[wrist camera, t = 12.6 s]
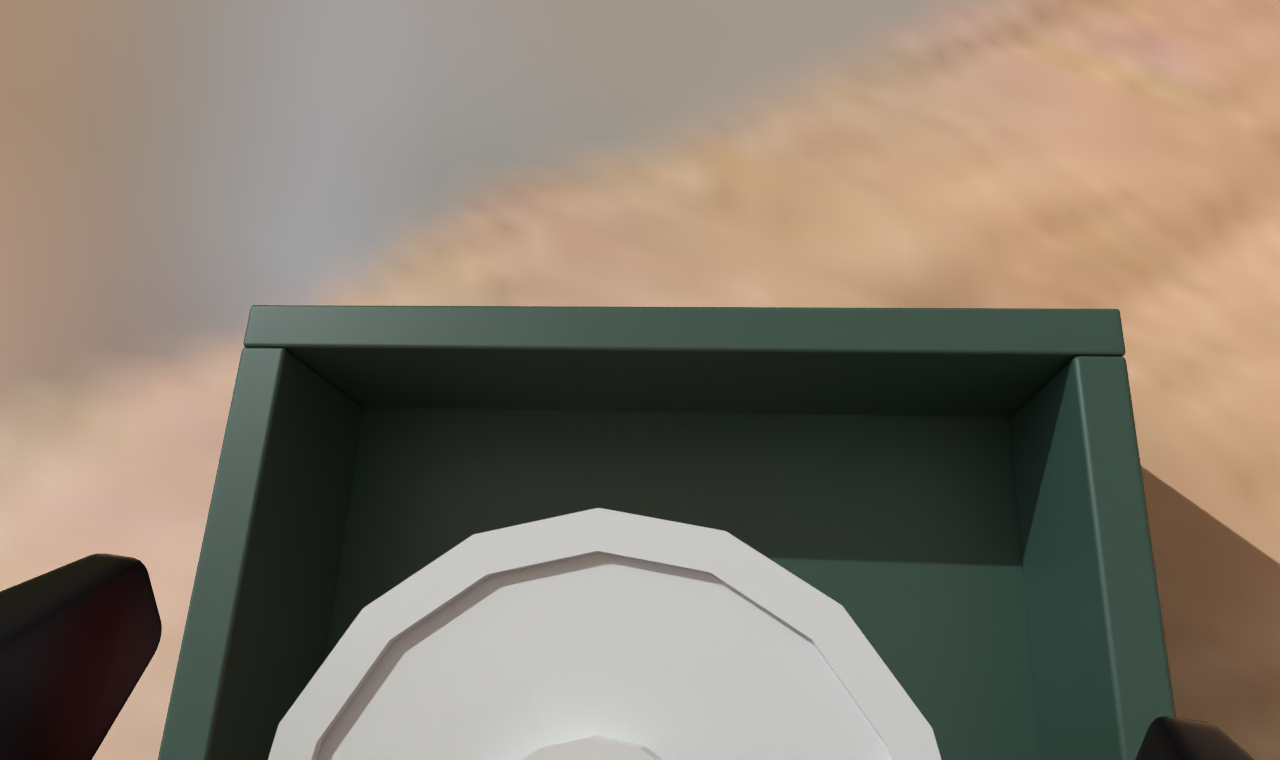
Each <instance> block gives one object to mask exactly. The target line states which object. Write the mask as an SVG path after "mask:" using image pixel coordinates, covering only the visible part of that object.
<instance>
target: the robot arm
mask: <svg viewBox="0 0 1280 760" xmlns="http://www.w3.org/2000/svg"><path fill="white" fill-rule="evenodd" d="M161 628H162V625H161V620H160V616H159V612H158V609H157V605H156V601H155V597H154V593H153V590H152V586H151V582H150V578H149V575H148V571H147V569H146V567H145V566H144V565H143V563H142V562H141V561H140V560H137V559H135V558H131V557H125V556H118V555H112V554H93V555H90V556H87V557H85V558H82V559H80V560H77V561H75V562H72V563H70V564H67V565H65V566H63V567H60V568H58V569H55V570H53V571H50V572H48V573H45V574H43V575H40V576H38V577H35V578H33V579H31V580H28V581H26V582H23V583H21V584H18V585H16V586H13V587H11V588H8V589H6V590H3V591H1V592H0V760H92V758H93V756H94V755H95V753H96V751H97V750H98V748H99V746H100V745H101V743H102V741H103V739H104V738H105V736H106V734H107V733H108V731H109V729H110V728H111V726H112V724H113V723H114V721H115V719H116V718H117V716H118V714H119V713H120V711H121V709H122V708H123V706H124V704H125V702H126V701H127V699H128V697H129V696H130V694H131V692H132V691H133V689H134V687H135V686H136V684H137V682H138V681H139V679H140V677H141V676H142V674H143V672H144V671H145V669H146V667H147V665H148V664H149V662H150V660H151V659H152V657H153V655H154V654H155V652H156V650H157V647H158V644H159V642H160V637H161ZM1135 760H1255V759H1253V758H1252V757H1251V756H1250V755H1249V754H1248V753H1247V752H1246V751H1244V750H1243V749H1242V748H1241V747H1240V746H1239V745H1238V744H1237V743H1235V742H1234V741H1233V740H1232V739H1231V738H1230V737H1229V736H1228V735H1226V734H1225V733H1224V732H1223V731H1221V730H1220V729H1219V728H1218V727H1216V726H1214V725H1212V724H1209V723H1206V722H1201V721H1194V720H1188V719H1181V718H1175V717H1168V716H1164V717H1158V718H1156V719H1155V720H1154V721H1153V722H1152V723H1151V724H1150V726H1149V728H1148V730H1147V732H1146V734H1145V737H1144V739H1143V742H1142V744H1141V747H1140V749H1139V751H1138V754H1137V756H1136V759H1135Z"/></svg>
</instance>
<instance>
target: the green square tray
mask: <svg viewBox="0 0 1280 760" xmlns="http://www.w3.org/2000/svg"><path fill="white" fill-rule="evenodd" d="M244 347H246V348H243V350H242V354H241V358H240V363H239V368H238V373H237V378H236V383H235V388H234V392H233V397H232V402H231V407H230V412H229V417H228V422H227V426H226V431H225V436H224V441H223V446H222V451H221V456H220V460H219V465H218V470H217V475H216V480H215V485H214V490H213V494H212V499H211V504H210V509H209V514H208V519H207V524H206V528H205V533H204V538H203V543H202V548H201V553H200V558H199V562H198V567H197V572H196V577H195V582H194V587H193V592H192V596H191V601H190V606H189V611H188V616H187V621H186V626H185V630H184V635H183V640H182V645H181V650H180V655H179V660H178V664H177V669H176V674H175V679H174V684H173V689H172V694H171V698H170V703H169V708H168V713H167V718H166V723H165V728H164V732H163V737H162V742H161V747H160V752H159V757H158V760H268V758H269V754H270V751H271V748H272V744H273V741H274V738H275V735H276V731H277V728H278V725H279V723H280V722H281V720H282V719H283V717H284V716H285V715H286V713H287V712H288V711H289V709H290V708H291V706H292V705H293V704H294V702H295V701H296V700H297V698H298V697H299V695H300V694H301V693H302V691H303V690H304V689H305V687H306V686H307V684H308V683H309V682H310V680H311V679H312V678H313V676H314V675H315V673H316V672H317V671H318V669H319V668H320V667H321V665H322V664H323V662H324V661H325V660H326V658H327V657H328V656H329V654H330V653H331V651H332V650H333V649H334V647H335V646H336V645H337V643H338V642H339V640H340V639H341V638H342V636H343V635H344V634H345V632H346V631H347V629H348V628H349V627H350V625H351V624H352V623H353V621H354V620H355V618H356V617H357V616H358V614H359V613H360V612H361V610H362V609H363V608H364V607H366V606H367V605H369V604H370V603H372V602H373V601H375V600H376V599H378V598H379V597H381V596H382V595H384V594H385V593H387V592H388V591H390V590H391V589H393V588H394V587H396V586H397V585H399V584H400V583H402V582H403V581H405V580H406V579H408V578H409V577H411V576H412V575H413V574H415V573H416V572H418V571H419V570H421V569H422V568H424V567H425V566H427V565H428V564H430V563H431V562H433V561H434V560H436V559H437V558H439V557H440V556H442V555H443V554H445V553H446V552H448V551H449V550H451V549H452V548H454V547H455V546H457V545H458V544H460V543H461V542H463V541H464V540H466V539H467V538H469V537H470V536H472V535H473V534H478V533H483V532H487V531H492V530H497V529H501V528H506V527H511V526H515V525H520V524H525V523H529V522H534V521H539V520H543V519H548V518H553V517H557V516H562V515H567V514H571V513H576V512H581V511H585V510H590V509H595V508H603V509H608V510H614V511H619V512H625V513H630V514H636V515H641V516H646V517H652V518H657V519H663V520H668V521H674V522H679V523H685V524H690V525H695V526H701V527H706V528H712V529H717V530H723V531H726V532H728V533H730V534H731V535H733V536H734V537H736V538H737V539H739V540H741V541H742V542H744V543H745V544H747V545H748V546H750V547H751V548H753V549H755V550H756V551H758V552H759V553H761V554H762V555H764V556H766V557H767V558H769V559H770V560H772V561H773V562H775V563H776V564H778V565H780V566H781V567H783V568H784V569H786V570H787V571H789V572H791V573H792V574H794V575H795V576H797V577H798V578H800V579H801V580H803V581H805V582H806V583H808V584H809V585H811V586H812V587H814V588H816V589H817V590H819V591H820V592H822V593H823V594H825V595H826V596H828V597H830V598H831V599H833V600H834V601H836V602H837V603H839V604H841V605H842V606H843V607H844V609H845V610H846V611H847V613H848V614H849V615H850V617H851V618H852V619H853V621H854V622H855V624H856V625H857V626H858V628H859V629H860V630H861V632H862V633H863V634H864V636H865V637H866V639H867V640H868V641H869V643H870V644H871V645H872V647H873V648H874V649H875V651H876V652H877V654H878V655H879V656H880V658H881V659H882V660H883V662H884V663H885V664H886V666H887V667H888V669H889V670H890V671H891V673H892V674H893V675H894V677H895V678H896V679H897V681H898V682H899V684H900V685H901V686H902V688H903V689H904V690H905V692H906V693H907V694H908V696H909V697H910V699H911V700H912V701H913V703H914V704H915V705H916V707H917V708H918V709H919V711H920V712H921V714H922V715H923V716H924V718H925V719H926V720H927V722H928V723H929V724H930V726H931V727H932V729H933V732H934V736H935V739H936V742H937V746H938V749H939V753H940V756H941V760H1135V759H1136V756H1137V754H1138V751H1139V749H1140V747H1141V744H1142V742H1143V739H1144V737H1145V734H1146V732H1147V730H1148V728H1149V726H1150V724H1151V723H1152V722H1153V721H1154V720H1155V719H1156V718H1158V717H1164V716H1168V717H1175V718H1176V716H1175V709H1174V702H1173V694H1172V687H1171V680H1170V673H1169V666H1168V659H1167V652H1166V644H1165V637H1164V630H1163V623H1162V616H1161V609H1160V601H1159V594H1158V587H1157V580H1156V573H1155V566H1154V559H1153V551H1152V544H1151V537H1150V530H1149V523H1148V516H1147V508H1146V501H1145V494H1144V487H1143V480H1142V473H1141V465H1140V458H1139V451H1138V444H1137V437H1136V430H1135V423H1134V415H1133V408H1132V401H1131V394H1130V387H1129V380H1128V372H1127V365H1126V360H1125V358H1123V357H1122V356H1124V354H1125V346H1124V339H1123V332H1122V324H1121V317H1120V311H1119V310H1118V309H992V308H756V307H520V306H283V305H253V306H252V307H251V309H250V314H249V319H248V324H247V329H246V334H245V339H244Z"/></svg>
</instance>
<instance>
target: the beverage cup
mask: <svg viewBox="0 0 1280 760" xmlns="http://www.w3.org/2000/svg"><path fill="white" fill-rule="evenodd" d="M268 760H941V756H940V753H939V749H938V746H937V742H936V739H935V736H934V732H933V729H932V727H931V726H930V724H929V723H928V722H927V720H926V719H925V718H924V716H923V715H922V714H921V712H920V711H919V709H918V708H917V707H916V705H915V704H914V703H913V701H912V700H911V699H910V697H909V696H908V694H907V693H906V692H905V690H904V689H903V688H902V686H901V685H900V684H899V682H898V681H897V679H896V678H895V677H894V675H893V674H892V673H891V671H890V670H889V669H888V667H887V666H886V664H885V663H884V662H883V660H882V659H881V658H880V656H879V655H878V654H877V652H876V651H875V649H874V648H873V647H872V645H871V644H870V643H869V641H868V640H867V639H866V637H865V636H864V634H863V633H862V632H861V630H860V629H859V628H858V626H857V625H856V624H855V622H854V621H853V619H852V618H851V617H850V615H849V614H848V613H847V611H846V610H845V609H844V607H843V606H842V605H841V604H839V603H837V602H836V601H834V600H833V599H831V598H830V597H828V596H826V595H825V594H823V593H822V592H820V591H819V590H817V589H816V588H814V587H812V586H811V585H809V584H808V583H806V582H805V581H803V580H801V579H800V578H798V577H797V576H795V575H794V574H792V573H791V572H789V571H787V570H786V569H784V568H783V567H781V566H780V565H778V564H776V563H775V562H773V561H772V560H770V559H769V558H767V557H766V556H764V555H762V554H761V553H759V552H758V551H756V550H755V549H753V548H751V547H750V546H748V545H747V544H745V543H744V542H742V541H741V540H739V539H737V538H736V537H734V536H733V535H731V534H730V533H728V532H726V531H723V530H717V529H712V528H706V527H701V526H695V525H690V524H685V523H679V522H674V521H668V520H663V519H657V518H652V517H646V516H641V515H636V514H630V513H625V512H619V511H614V510H608V509H603V508H595V509H590V510H585V511H581V512H576V513H571V514H567V515H562V516H557V517H553V518H548V519H543V520H539V521H534V522H529V523H525V524H520V525H515V526H511V527H506V528H501V529H497V530H492V531H487V532H483V533H478V534H473V535H472V536H470V537H469V538H467V539H466V540H464V541H463V542H461V543H460V544H458V545H457V546H455V547H454V548H452V549H451V550H449V551H448V552H446V553H445V554H443V555H442V556H440V557H439V558H437V559H436V560H434V561H433V562H431V563H430V564H428V565H427V566H425V567H424V568H422V569H421V570H419V571H418V572H416V573H415V574H413V575H412V576H411V577H409V578H408V579H406V580H405V581H403V582H402V583H400V584H399V585H397V586H396V587H394V588H393V589H391V590H390V591H388V592H387V593H385V594H384V595H382V596H381V597H379V598H378V599H376V600H375V601H373V602H372V603H370V604H369V605H367V606H366V607H364V608H363V609H362V610H361V612H360V613H359V614H358V616H357V617H356V618H355V620H354V621H353V623H352V624H351V625H350V627H349V628H348V629H347V631H346V632H345V634H344V635H343V636H342V638H341V639H340V640H339V642H338V643H337V645H336V646H335V647H334V649H333V650H332V651H331V653H330V654H329V656H328V657H327V658H326V660H325V661H324V662H323V664H322V665H321V667H320V668H319V669H318V671H317V672H316V673H315V675H314V676H313V678H312V679H311V680H310V682H309V683H308V684H307V686H306V687H305V689H304V690H303V691H302V693H301V694H300V695H299V697H298V698H297V700H296V701H295V702H294V704H293V705H292V706H291V708H290V709H289V711H288V712H287V713H286V715H285V716H284V717H283V719H282V720H281V722H280V723H279V725H278V728H277V731H276V735H275V738H274V741H273V744H272V748H271V751H270V754H269V758H268Z"/></svg>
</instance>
